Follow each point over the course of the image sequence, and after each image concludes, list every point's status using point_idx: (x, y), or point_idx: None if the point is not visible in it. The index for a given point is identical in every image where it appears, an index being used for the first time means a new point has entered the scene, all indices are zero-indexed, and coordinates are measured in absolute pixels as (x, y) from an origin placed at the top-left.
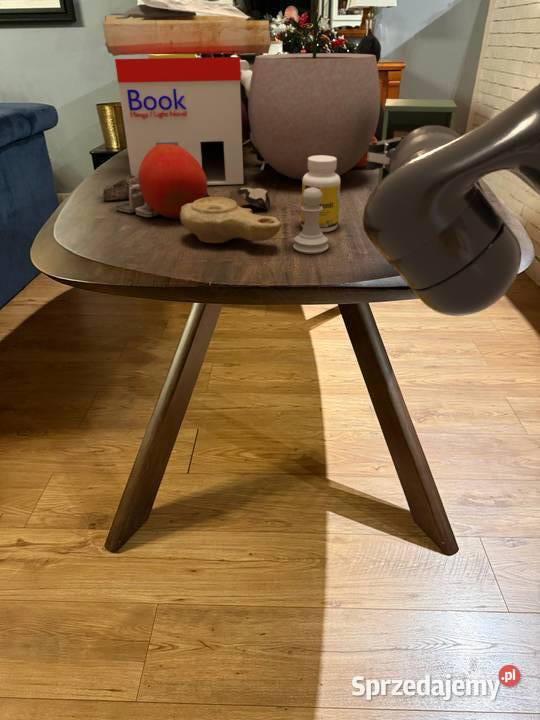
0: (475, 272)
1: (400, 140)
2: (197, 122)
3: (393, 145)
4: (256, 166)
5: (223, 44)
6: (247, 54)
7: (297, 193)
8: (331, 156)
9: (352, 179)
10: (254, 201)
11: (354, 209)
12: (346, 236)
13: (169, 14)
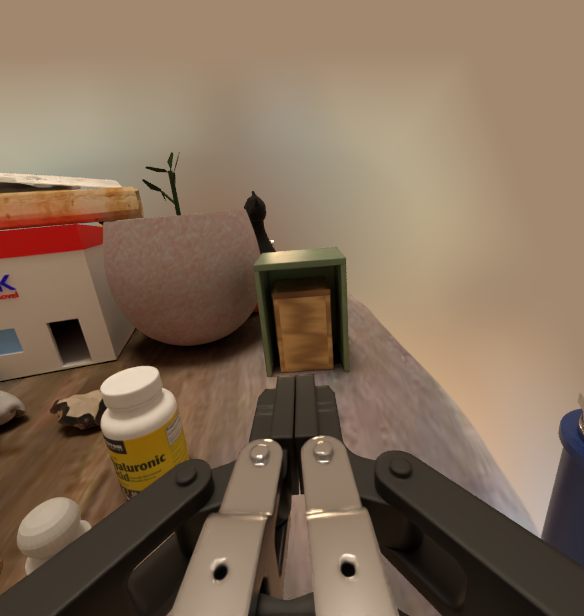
0: None
1: (149, 534)
2: (36, 302)
3: (97, 596)
4: None
5: (79, 213)
6: None
7: (173, 370)
8: (153, 368)
9: (247, 332)
10: (76, 421)
11: (235, 401)
12: None
13: (26, 189)
